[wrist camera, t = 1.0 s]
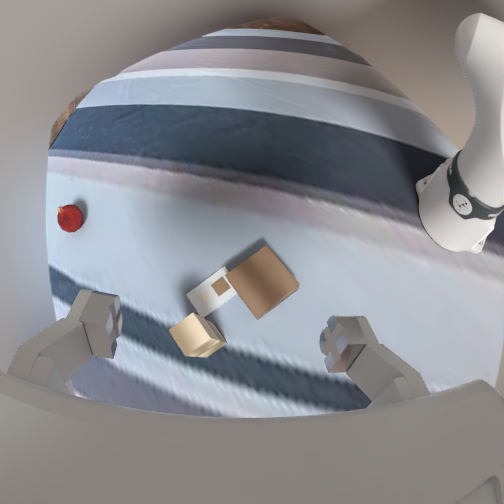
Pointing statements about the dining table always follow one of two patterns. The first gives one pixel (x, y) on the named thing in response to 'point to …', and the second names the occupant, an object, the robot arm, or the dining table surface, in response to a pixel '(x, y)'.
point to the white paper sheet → (211, 293)
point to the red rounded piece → (70, 218)
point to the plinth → (262, 282)
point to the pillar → (197, 336)
